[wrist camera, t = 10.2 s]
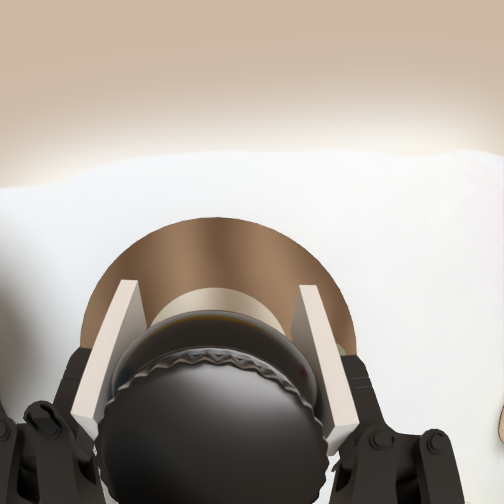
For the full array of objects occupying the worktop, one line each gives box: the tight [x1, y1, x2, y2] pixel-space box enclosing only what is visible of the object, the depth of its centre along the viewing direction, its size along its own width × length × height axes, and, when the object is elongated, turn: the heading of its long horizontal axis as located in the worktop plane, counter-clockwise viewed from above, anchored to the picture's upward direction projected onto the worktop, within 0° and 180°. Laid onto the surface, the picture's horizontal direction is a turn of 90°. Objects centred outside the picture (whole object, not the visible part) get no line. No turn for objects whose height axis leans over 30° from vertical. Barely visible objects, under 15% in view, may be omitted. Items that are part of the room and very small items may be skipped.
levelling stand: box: [80, 217, 357, 356], centre depth 21 cm, size 20×20×4 cm
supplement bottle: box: [94, 310, 329, 504], centre depth 10 cm, size 7×7×12 cm
